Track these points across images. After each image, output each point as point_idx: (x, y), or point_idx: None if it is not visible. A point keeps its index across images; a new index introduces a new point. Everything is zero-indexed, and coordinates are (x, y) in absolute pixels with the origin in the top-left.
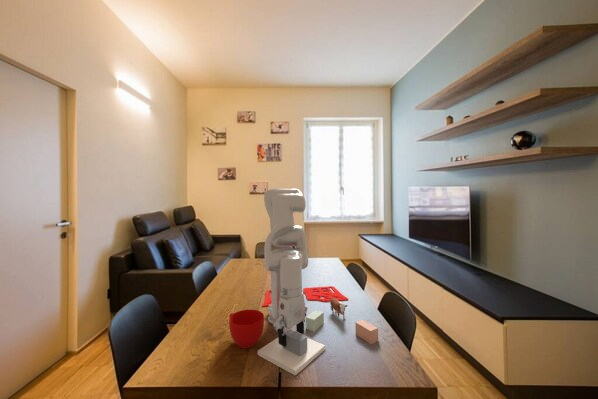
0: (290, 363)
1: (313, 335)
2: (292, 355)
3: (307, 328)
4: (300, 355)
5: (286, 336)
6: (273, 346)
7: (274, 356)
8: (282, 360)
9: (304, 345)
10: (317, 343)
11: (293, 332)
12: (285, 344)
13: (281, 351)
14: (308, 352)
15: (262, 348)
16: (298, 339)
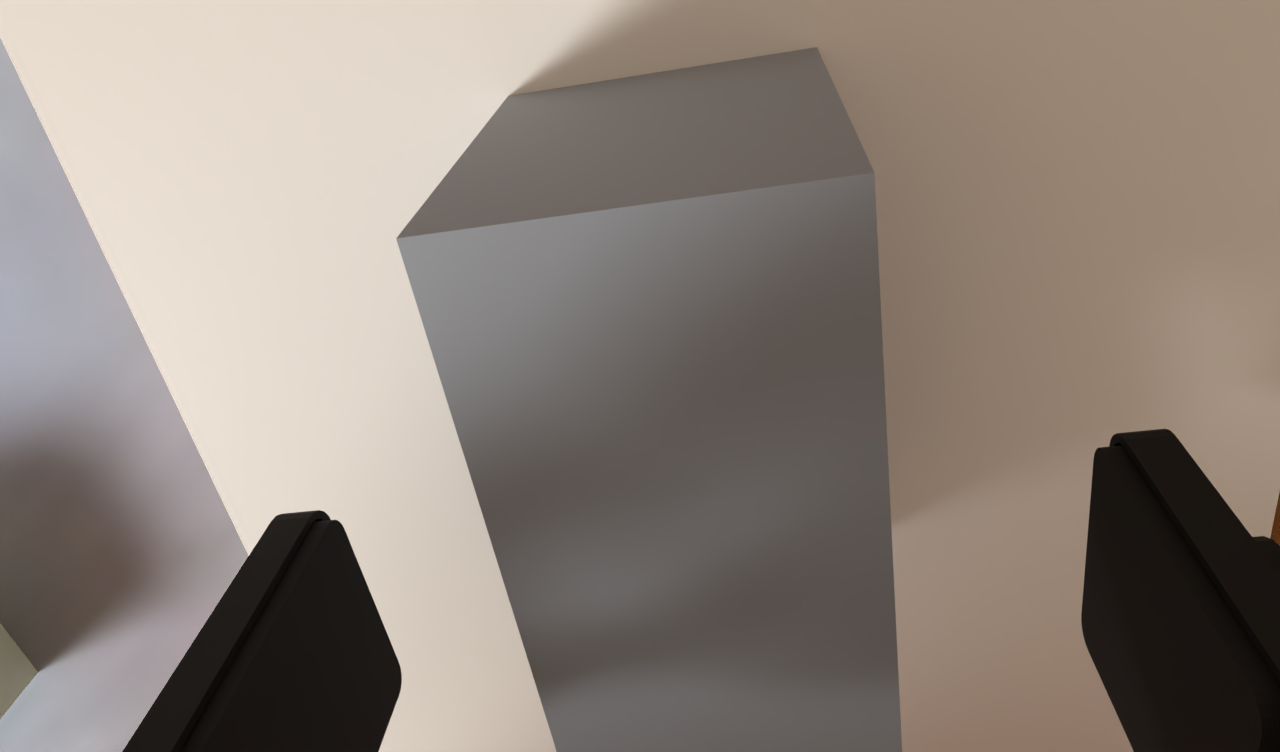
0: (1221, 5)
1: (8, 463)
2: (920, 215)
3: (9, 660)
4: (804, 55)
5: (1237, 652)
6: (937, 673)
7: (1202, 456)
8: (1224, 241)
9: (606, 134)
10: (98, 141)
11: (607, 686)
12: (1193, 464)
13: (961, 479)
14: (532, 18)
15: (1121, 747)
16: (796, 325)
